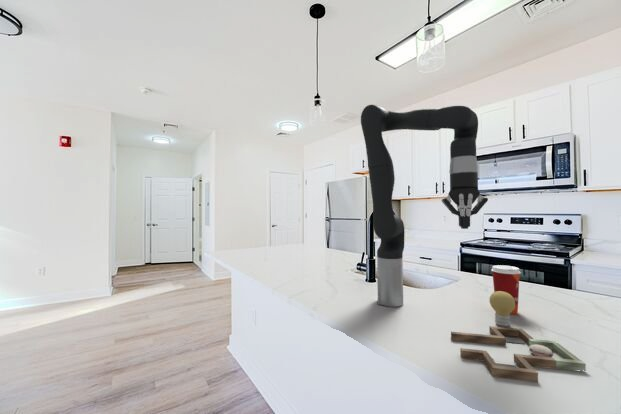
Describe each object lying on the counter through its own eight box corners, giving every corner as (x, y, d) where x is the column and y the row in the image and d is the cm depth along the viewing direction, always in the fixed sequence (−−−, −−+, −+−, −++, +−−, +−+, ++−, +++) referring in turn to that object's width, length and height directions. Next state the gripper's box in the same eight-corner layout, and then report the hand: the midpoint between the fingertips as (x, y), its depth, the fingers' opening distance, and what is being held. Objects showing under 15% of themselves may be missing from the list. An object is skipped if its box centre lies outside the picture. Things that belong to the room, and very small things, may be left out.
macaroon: (527, 355, 65) (526, 344, 65) (533, 348, 68) (533, 338, 68) (550, 363, 62) (550, 351, 62) (556, 355, 65) (556, 345, 65)
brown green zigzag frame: (470, 373, 58) (470, 365, 58) (445, 328, 80) (445, 322, 80) (609, 391, 52) (609, 381, 52) (541, 337, 74) (541, 330, 74)
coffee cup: (527, 316, 88) (526, 270, 88) (498, 315, 90) (497, 269, 90) (513, 307, 96) (512, 265, 96) (487, 306, 98) (486, 264, 98)
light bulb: (517, 331, 78) (516, 296, 78) (490, 326, 81) (489, 292, 81) (514, 323, 83) (513, 290, 83) (489, 319, 86) (488, 287, 86)
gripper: (442, 171, 82) (443, 229, 82) (492, 169, 79) (493, 229, 79) (437, 175, 90) (438, 227, 89) (483, 173, 86) (484, 227, 86)
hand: (464, 228), depth 84 cm, fingers closed
